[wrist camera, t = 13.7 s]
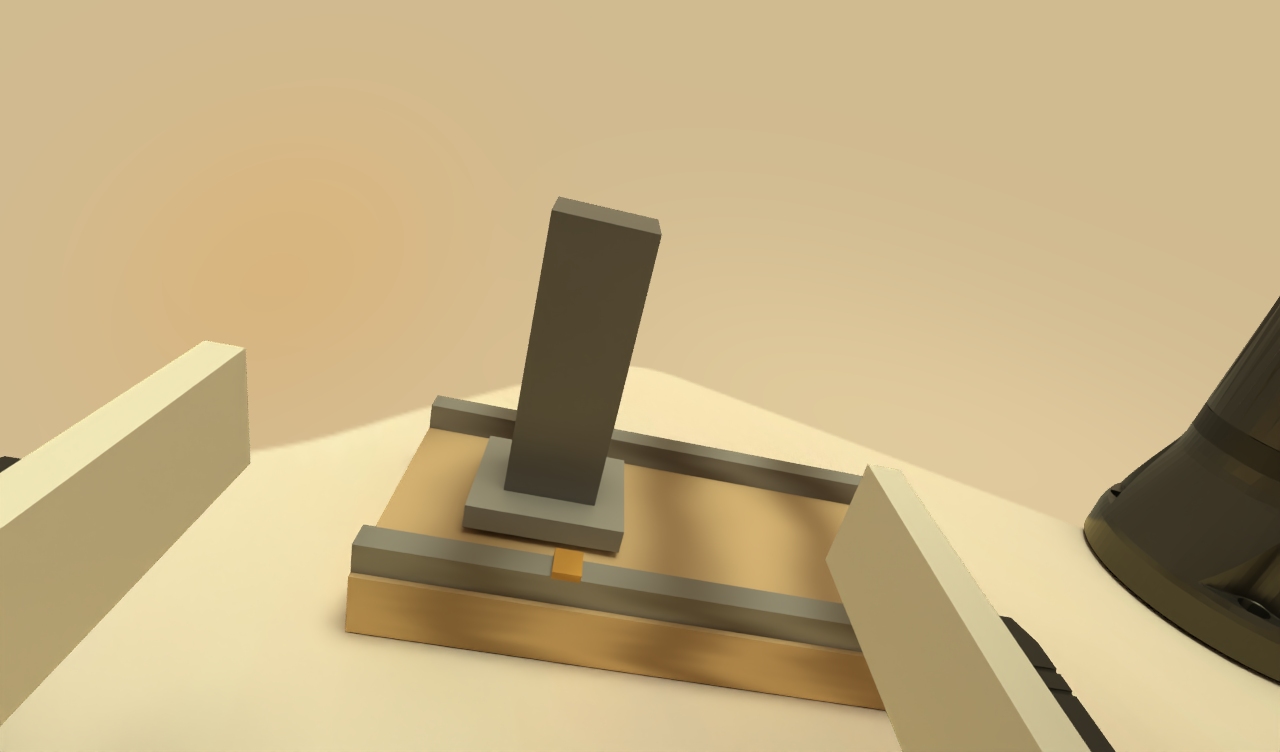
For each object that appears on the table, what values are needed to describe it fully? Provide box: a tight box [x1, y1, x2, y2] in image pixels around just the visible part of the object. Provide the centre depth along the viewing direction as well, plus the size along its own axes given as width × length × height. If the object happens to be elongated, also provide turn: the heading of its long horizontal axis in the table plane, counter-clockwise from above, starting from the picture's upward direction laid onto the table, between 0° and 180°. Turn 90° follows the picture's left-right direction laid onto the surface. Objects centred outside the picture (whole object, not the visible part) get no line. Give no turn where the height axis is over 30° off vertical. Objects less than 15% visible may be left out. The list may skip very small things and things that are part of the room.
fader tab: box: [462, 197, 661, 553], centre depth 24 cm, size 6×5×12 cm
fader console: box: [345, 396, 886, 710], centre depth 28 cm, size 24×11×4 cm, turn 91°
